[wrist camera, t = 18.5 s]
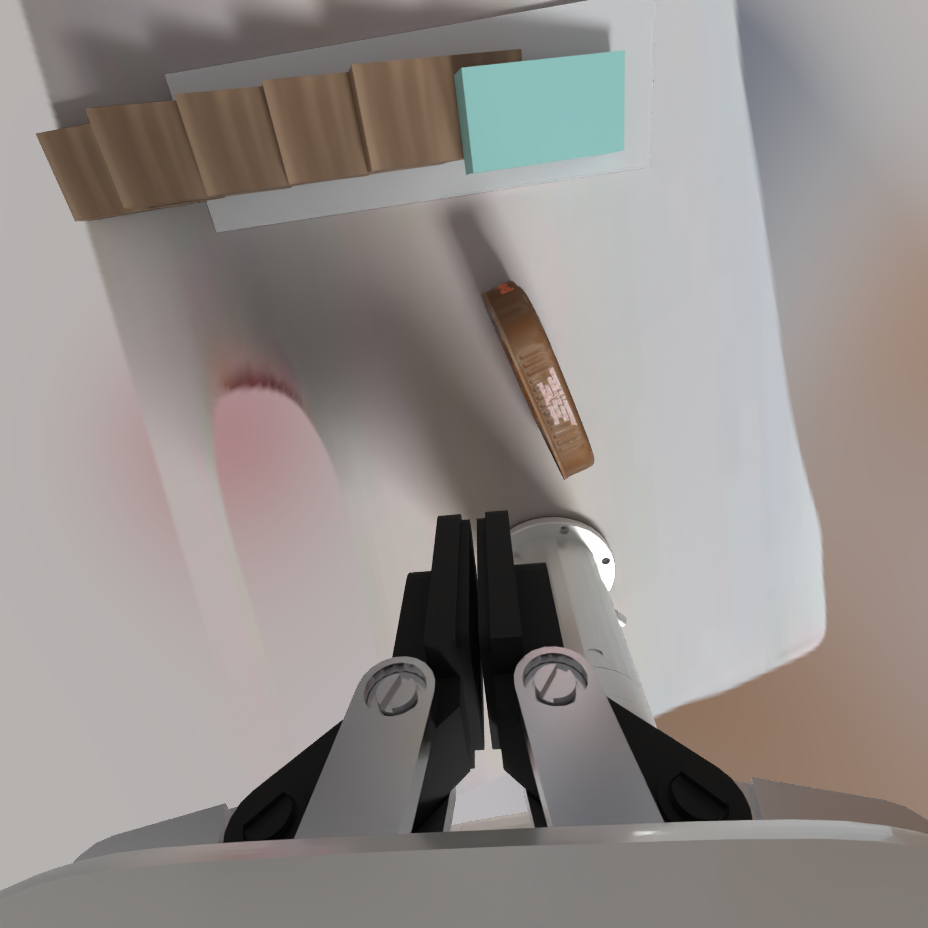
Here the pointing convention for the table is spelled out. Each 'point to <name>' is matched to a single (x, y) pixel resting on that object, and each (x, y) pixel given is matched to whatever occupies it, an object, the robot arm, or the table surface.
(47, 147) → the domino
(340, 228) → the table surface
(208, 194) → the domino
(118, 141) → the domino
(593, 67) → the domino
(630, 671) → the robot arm
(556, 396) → the tin
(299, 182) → the domino
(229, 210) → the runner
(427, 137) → the domino
